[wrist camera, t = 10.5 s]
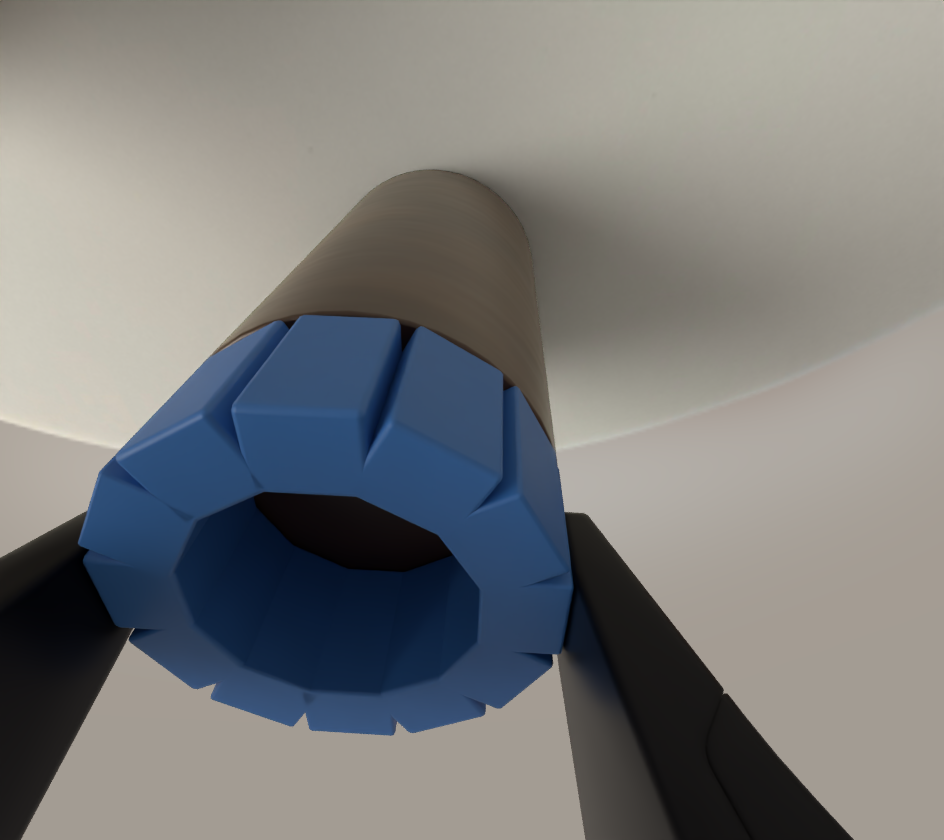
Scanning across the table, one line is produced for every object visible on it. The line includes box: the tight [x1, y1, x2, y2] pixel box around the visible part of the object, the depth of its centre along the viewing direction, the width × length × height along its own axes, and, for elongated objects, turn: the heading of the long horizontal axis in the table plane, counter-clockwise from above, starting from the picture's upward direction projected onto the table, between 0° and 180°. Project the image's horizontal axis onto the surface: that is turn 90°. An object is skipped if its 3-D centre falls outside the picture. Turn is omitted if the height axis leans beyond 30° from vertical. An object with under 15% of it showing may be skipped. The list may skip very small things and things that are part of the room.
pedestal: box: [210, 170, 557, 572], centre depth 14 cm, size 7×7×11 cm
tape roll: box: [78, 315, 574, 736], centre depth 9 cm, size 6×6×2 cm
